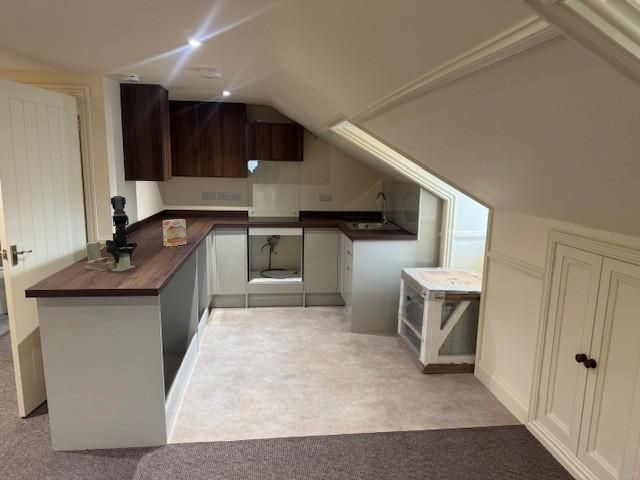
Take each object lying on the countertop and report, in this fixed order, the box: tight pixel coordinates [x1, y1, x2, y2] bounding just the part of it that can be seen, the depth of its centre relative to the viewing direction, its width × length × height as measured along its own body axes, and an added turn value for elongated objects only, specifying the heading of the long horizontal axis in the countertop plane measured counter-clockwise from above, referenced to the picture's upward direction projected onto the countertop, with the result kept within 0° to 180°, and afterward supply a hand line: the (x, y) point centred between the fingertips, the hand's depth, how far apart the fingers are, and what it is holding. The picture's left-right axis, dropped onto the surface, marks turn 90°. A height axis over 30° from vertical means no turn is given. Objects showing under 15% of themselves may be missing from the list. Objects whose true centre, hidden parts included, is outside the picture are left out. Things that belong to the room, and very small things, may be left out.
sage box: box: [117, 253, 131, 269], centre depth 248 cm, size 5×5×8 cm
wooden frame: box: [84, 256, 117, 272], centre depth 252 cm, size 16×15×4 cm
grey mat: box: [111, 264, 136, 272], centre depth 249 cm, size 12×6×1 cm, turn 165°
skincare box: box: [85, 241, 102, 262], centre depth 265 cm, size 6×4×12 cm
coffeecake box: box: [162, 218, 188, 248], centre depth 317 cm, size 15×7×20 cm, turn 131°
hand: (123, 261), depth 248 cm, fingers open, 9 cm apart
